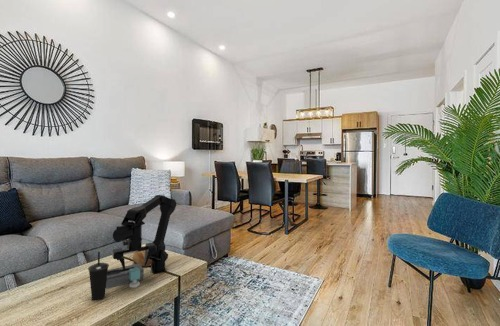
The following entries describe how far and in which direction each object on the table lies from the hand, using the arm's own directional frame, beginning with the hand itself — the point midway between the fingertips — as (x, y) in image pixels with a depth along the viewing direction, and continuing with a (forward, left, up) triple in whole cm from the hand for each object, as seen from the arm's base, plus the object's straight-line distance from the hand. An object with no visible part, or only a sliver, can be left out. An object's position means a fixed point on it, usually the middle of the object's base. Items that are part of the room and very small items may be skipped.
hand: (134, 268), depth 120 cm
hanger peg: (0, 0, -8) cm, 8 cm away
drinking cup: (+15, +3, -9) cm, 18 cm away
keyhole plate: (+4, -8, -8) cm, 13 cm away
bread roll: (-9, -24, -9) cm, 27 cm away
